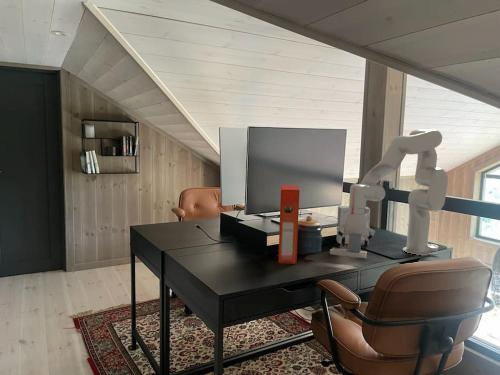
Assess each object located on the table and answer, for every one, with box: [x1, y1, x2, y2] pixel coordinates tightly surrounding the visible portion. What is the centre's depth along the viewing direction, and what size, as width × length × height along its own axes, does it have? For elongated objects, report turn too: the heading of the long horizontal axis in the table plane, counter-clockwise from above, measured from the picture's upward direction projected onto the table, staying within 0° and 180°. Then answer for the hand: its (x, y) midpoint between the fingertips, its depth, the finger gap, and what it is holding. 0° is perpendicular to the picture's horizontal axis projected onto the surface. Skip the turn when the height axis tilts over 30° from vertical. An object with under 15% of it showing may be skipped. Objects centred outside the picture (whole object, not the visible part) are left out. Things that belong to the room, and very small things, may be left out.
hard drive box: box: [336, 205, 372, 246], centre depth 202 cm, size 16×8×20 cm, turn 84°
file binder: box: [278, 184, 300, 265], centre depth 176 cm, size 8×17×32 cm, turn 176°
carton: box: [347, 234, 362, 253], centre depth 184 cm, size 5×7×9 cm
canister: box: [297, 215, 323, 256], centre depth 187 cm, size 13×13×18 cm
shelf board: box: [329, 247, 368, 259], centre depth 183 cm, size 16×12×4 cm
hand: (354, 247), depth 184 cm, fingers open, 9 cm apart
